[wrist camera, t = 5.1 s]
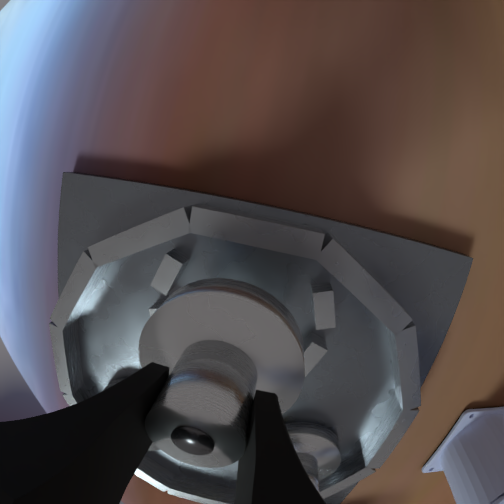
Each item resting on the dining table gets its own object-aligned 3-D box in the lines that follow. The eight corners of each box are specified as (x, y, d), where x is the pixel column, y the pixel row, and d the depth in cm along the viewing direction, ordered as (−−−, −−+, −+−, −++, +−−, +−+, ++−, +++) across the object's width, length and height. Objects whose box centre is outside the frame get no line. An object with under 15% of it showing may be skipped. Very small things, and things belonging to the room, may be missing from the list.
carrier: (465, 254, 15) (520, 282, 10) (335, 500, 21) (338, 545, 16) (72, 172, 17) (9, 174, 11) (88, 439, 23) (61, 475, 17)
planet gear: (330, 313, 11) (351, 406, 6) (269, 420, 12) (257, 508, 8) (172, 252, 11) (97, 311, 6) (144, 372, 12) (94, 446, 8)
